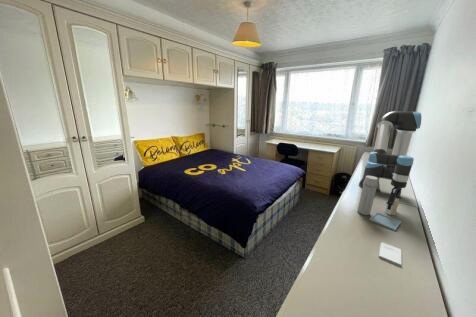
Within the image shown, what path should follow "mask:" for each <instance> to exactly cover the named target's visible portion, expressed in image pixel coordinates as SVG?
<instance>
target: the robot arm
mask: <svg viewBox="0 0 476 317" xmlns="http://www.w3.org/2000/svg"><path fill="white" fill-rule="evenodd" d="M421 125H422V113H421V112H418V111H402V110H401V111H400V110H399V111H398V110H393V111H390V112H389V111H388V112H387V113H385V114H384V115H382V117H381V118H379V119H378V121H377V134H376V138H375V143H374V147H373V151H370V152H369V156H368V159H367V162H366V163H365V166H364V170H363V175H362V178H361V179H360V181H359V182H358V186H359V187H360V188H361V189H362V188H363V182H364V180H365V177H366V176H374V177H377V178H378V184H377V185H378V187H377V189H376V192H378V191H380V188H381V185H380V179H384V180H388V181H391V182H390V185H391V186H392V189H391V193H390V194H389V196H388V200H387V202H385V204H386V206H387V208H386V207H385V210H386V211H384V213H386V214H387V215H389V214H391V211H392V208H393V203H394V201H395V199H396V200H397V201H398V202H399V201H400V200H401V198H402V197H401V195H402V189H405V188H406V187H407V184H408V181H409V178H410V173H411V170H412V167H413V165H414V159H415V158H414V157H412V156H410V155H409V156H408V155H407V153H408V151H409V146H410V143H411V139H412V135H413V133H415V132H416V131H417V129H418V130H419V129H420V128H421ZM394 127H395V130H396V131H397V134H396V137H395V140H394V145H393V147H392V152H391V154H390V153H387V151H388V145H389V141H390V135H391V129H393V128H394Z"/></svg>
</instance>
